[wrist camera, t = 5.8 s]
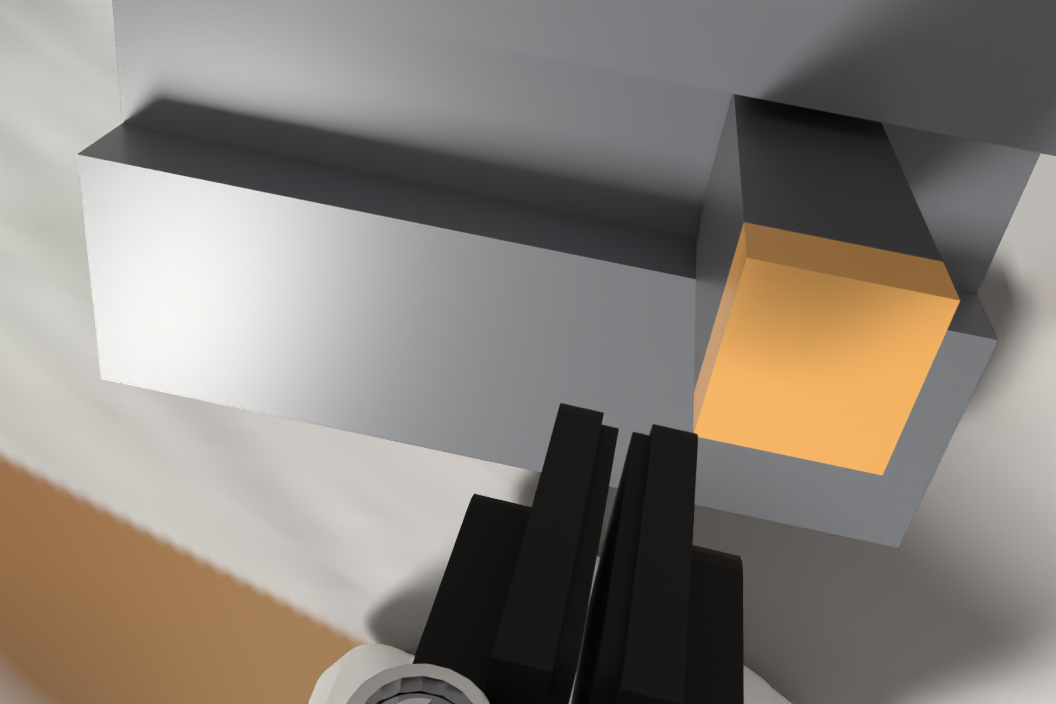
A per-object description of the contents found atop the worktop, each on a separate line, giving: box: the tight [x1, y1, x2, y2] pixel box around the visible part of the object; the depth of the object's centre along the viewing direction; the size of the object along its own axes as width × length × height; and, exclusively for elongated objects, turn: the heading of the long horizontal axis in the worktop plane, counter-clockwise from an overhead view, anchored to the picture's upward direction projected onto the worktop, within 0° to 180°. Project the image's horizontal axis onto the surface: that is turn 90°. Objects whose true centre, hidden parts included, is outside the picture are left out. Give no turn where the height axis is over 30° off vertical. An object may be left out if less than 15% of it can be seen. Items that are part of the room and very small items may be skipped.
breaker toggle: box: [693, 94, 960, 475], centre depth 18 cm, size 3×3×8 cm
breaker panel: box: [77, 0, 1056, 548], centre depth 22 cm, size 20×16×4 cm
